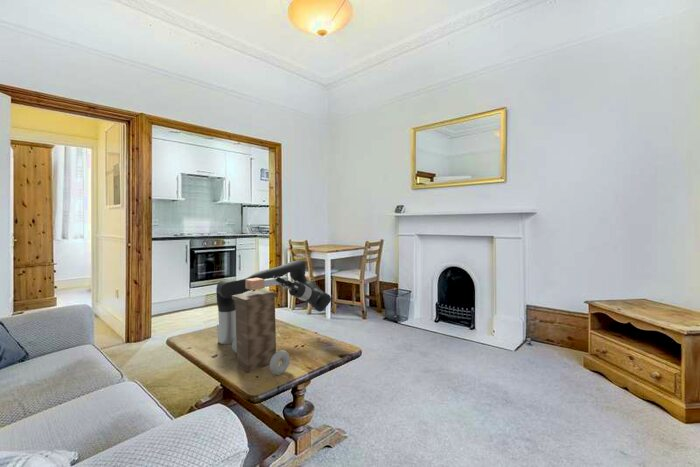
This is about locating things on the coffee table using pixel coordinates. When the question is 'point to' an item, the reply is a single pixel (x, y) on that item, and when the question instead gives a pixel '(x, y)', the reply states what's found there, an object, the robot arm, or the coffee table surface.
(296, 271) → the robot arm
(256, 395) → the coffee table surface
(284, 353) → the donut
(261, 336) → the walnut stand
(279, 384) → the coffee table surface
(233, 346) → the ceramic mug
